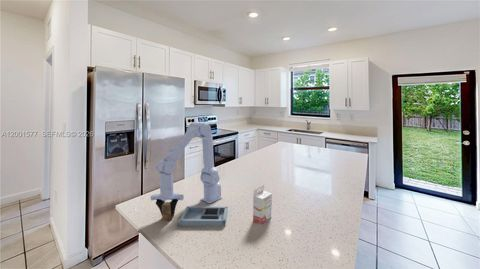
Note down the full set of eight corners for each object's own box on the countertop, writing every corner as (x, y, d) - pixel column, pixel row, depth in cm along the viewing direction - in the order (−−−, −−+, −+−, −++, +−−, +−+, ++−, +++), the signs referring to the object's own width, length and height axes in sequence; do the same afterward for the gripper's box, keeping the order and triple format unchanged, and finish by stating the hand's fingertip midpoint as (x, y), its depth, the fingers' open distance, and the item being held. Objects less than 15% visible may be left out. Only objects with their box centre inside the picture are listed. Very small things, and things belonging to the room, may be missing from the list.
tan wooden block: (174, 216, 99) (173, 202, 98) (171, 220, 95) (170, 206, 94) (165, 216, 99) (164, 202, 98) (162, 220, 95) (161, 206, 94)
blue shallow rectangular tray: (227, 211, 103) (227, 205, 103) (225, 226, 90) (225, 219, 90) (187, 211, 103) (187, 204, 103) (179, 226, 91) (178, 218, 90)
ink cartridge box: (262, 224, 91) (262, 192, 90) (252, 220, 94) (252, 189, 93) (272, 216, 98) (272, 186, 96) (263, 213, 101) (263, 184, 99)
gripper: (146, 189, 91) (148, 218, 93) (179, 189, 91) (181, 219, 93) (153, 183, 98) (155, 211, 100) (184, 183, 98) (185, 211, 100)
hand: (168, 214), depth 97 cm, fingers closed on tan wooden block, 4 cm apart
